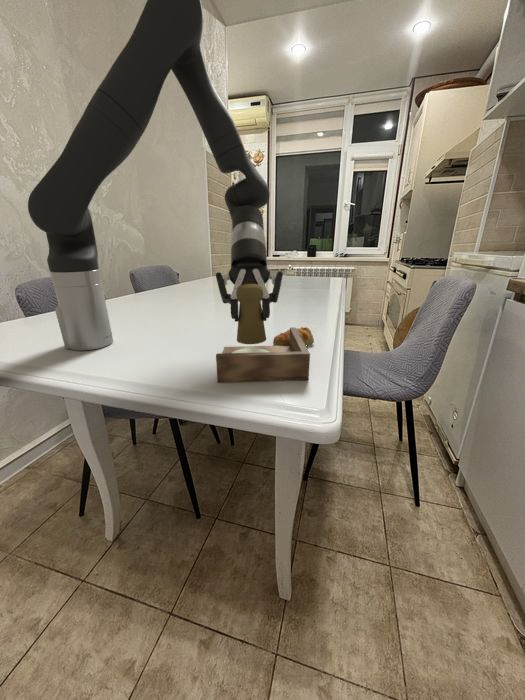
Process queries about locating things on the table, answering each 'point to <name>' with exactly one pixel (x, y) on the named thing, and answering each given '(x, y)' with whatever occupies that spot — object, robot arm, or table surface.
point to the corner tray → (264, 362)
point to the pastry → (285, 337)
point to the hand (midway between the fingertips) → (250, 318)
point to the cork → (250, 314)
